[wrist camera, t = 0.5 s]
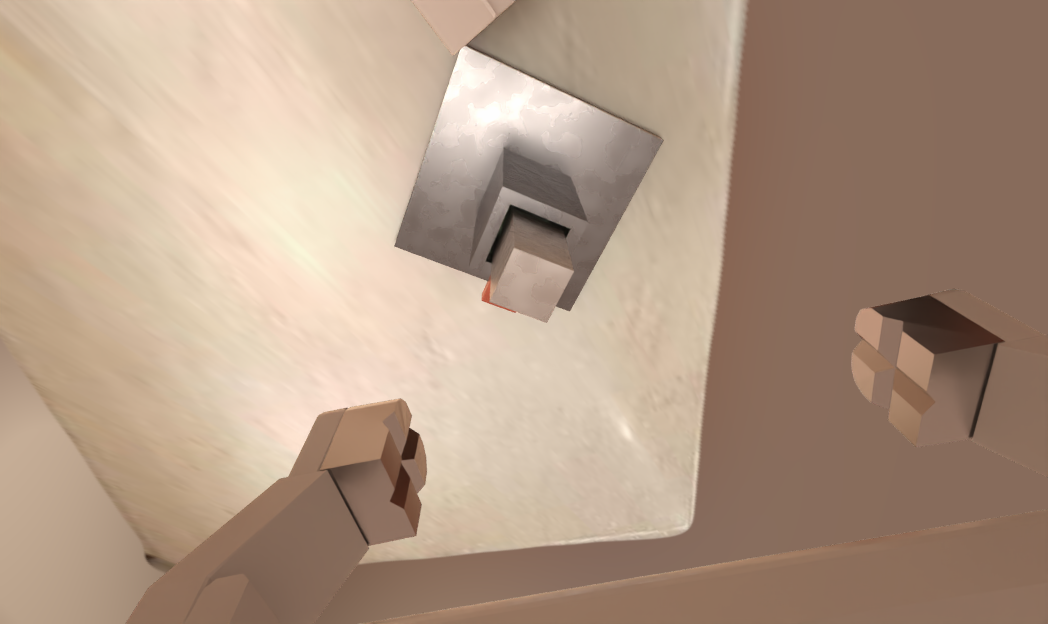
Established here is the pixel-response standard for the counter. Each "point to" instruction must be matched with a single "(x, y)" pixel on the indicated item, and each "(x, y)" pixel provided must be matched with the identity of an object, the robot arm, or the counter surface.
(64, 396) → the counter surface
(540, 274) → the block
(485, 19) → the milk carton
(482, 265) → the jack base
